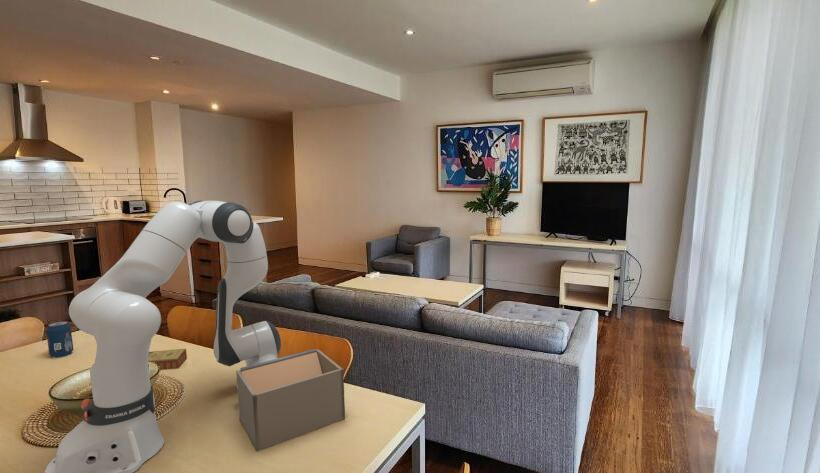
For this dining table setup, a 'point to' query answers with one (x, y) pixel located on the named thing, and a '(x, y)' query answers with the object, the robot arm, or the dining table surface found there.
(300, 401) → the open carton
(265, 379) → the flap
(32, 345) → the dining table surface
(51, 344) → the blue can
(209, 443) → the dining table surface
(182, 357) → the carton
